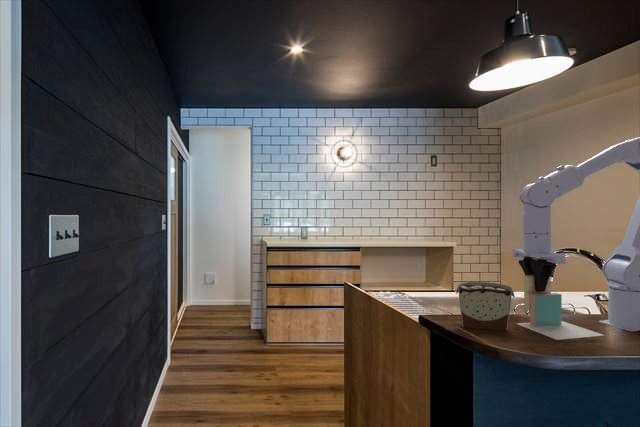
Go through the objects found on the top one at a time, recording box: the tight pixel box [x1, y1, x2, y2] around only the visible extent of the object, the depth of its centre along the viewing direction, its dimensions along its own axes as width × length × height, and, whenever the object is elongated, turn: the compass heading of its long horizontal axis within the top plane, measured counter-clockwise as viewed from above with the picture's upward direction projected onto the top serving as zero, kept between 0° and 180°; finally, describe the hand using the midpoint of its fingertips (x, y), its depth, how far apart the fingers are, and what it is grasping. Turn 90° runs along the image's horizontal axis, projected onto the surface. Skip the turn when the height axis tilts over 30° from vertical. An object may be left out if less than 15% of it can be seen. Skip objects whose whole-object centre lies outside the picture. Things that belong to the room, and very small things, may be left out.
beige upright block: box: [523, 275, 552, 312], centre depth 96 cm, size 6×2×8 cm, turn 103°
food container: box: [455, 281, 516, 331], centre depth 93 cm, size 12×6×10 cm, turn 74°
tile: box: [529, 292, 563, 327], centre depth 93 cm, size 7×2×7 cm, turn 103°
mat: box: [516, 320, 606, 341], centre depth 90 cm, size 12×12×1 cm
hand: (537, 290), depth 96 cm, fingers closed on beige upright block, 2 cm apart
